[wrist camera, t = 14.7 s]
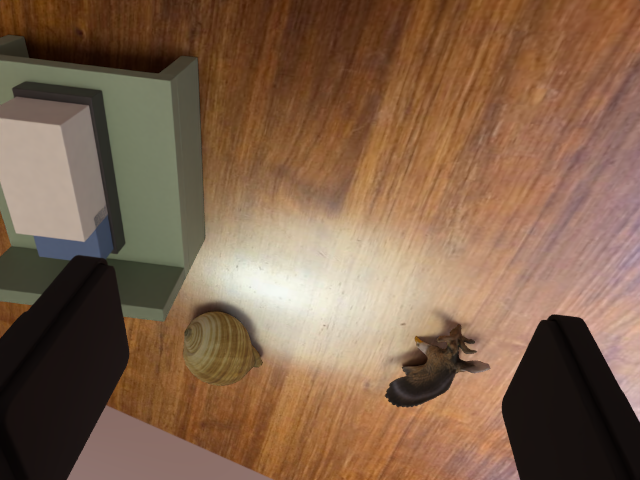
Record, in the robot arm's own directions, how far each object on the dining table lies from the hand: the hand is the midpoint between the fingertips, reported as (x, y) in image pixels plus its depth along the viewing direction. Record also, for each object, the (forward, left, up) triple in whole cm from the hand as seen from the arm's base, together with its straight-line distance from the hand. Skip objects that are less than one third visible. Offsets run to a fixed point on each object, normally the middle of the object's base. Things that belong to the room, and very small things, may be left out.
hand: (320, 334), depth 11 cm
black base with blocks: (+9, -18, -22) cm, 30 cm away
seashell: (+30, -9, -28) cm, 42 cm away
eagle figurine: (+28, +12, -28) cm, 42 cm away
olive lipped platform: (+10, -18, -28) cm, 35 cm away
